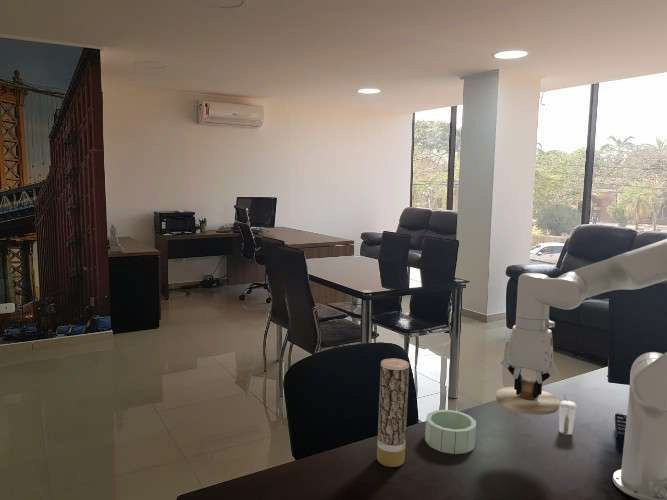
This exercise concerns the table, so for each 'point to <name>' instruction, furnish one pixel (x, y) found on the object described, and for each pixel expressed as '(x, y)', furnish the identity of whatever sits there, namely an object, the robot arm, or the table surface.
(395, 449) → the log-textured cylinder
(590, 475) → the table surface
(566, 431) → the milkshake
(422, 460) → the table surface
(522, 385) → the lid
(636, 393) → the robot arm
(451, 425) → the bowl
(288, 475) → the table surface
